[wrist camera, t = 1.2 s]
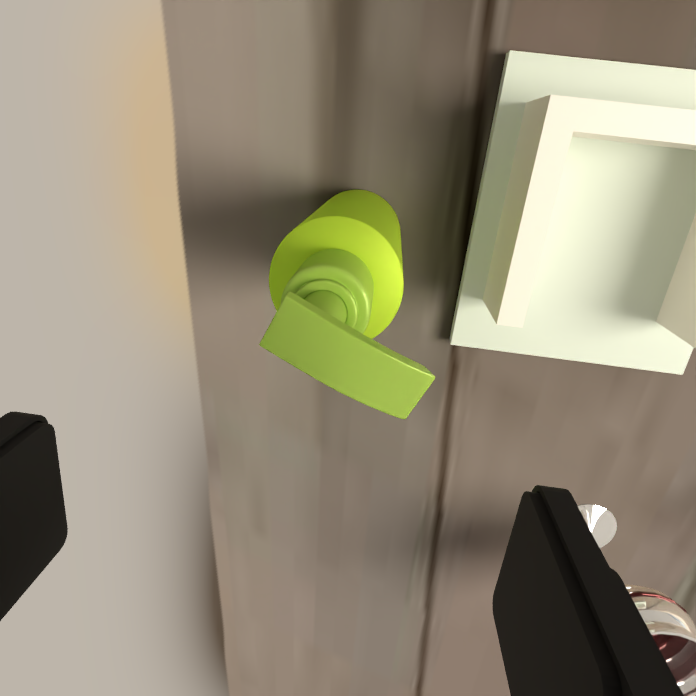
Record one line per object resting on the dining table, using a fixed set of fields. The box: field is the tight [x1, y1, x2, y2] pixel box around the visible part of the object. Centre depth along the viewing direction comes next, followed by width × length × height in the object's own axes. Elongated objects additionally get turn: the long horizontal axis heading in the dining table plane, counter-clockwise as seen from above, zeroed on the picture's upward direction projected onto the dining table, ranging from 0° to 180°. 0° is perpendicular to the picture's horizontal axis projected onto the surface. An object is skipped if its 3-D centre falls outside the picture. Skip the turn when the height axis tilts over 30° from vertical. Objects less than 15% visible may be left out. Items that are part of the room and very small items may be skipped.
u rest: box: [449, 50, 696, 375], centre depth 29 cm, size 18×16×6 cm
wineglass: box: [578, 504, 696, 696], centre depth 35 cm, size 7×7×12 cm
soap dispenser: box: [259, 190, 435, 419], centre depth 24 cm, size 6×7×20 cm
